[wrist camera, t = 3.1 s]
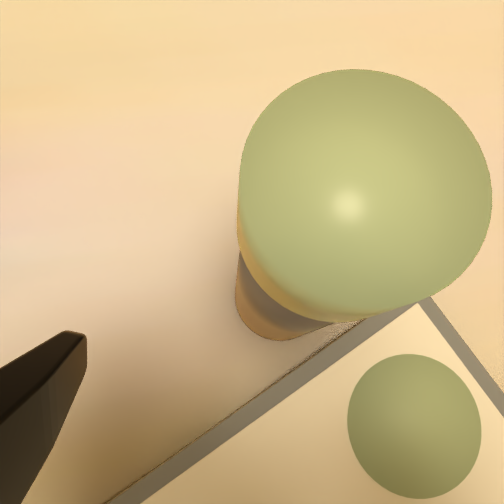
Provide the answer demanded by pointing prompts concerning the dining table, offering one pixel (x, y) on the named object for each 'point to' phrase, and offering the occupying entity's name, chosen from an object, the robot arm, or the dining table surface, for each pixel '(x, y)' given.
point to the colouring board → (354, 427)
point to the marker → (354, 202)
